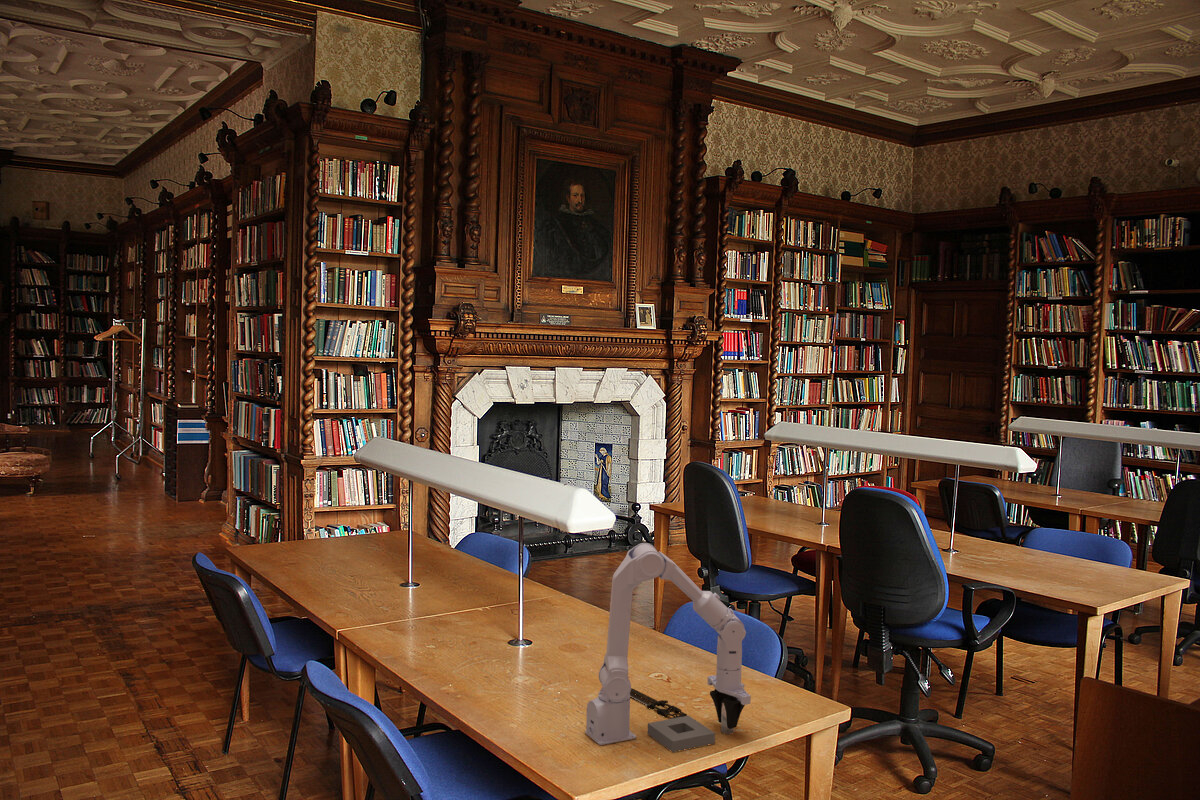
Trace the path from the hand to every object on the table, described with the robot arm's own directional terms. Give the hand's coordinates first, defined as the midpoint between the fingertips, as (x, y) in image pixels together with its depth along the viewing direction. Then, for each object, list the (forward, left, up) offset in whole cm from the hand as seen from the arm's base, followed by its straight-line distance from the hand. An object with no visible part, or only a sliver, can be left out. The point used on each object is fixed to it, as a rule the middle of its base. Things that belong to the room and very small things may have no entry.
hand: (727, 724), depth 213 cm
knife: (-8, +23, -2) cm, 24 cm away
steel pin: (0, 0, -2) cm, 2 cm away
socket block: (-12, +1, -2) cm, 12 cm away
